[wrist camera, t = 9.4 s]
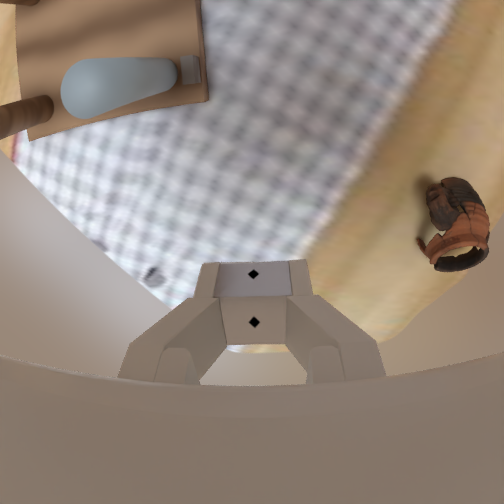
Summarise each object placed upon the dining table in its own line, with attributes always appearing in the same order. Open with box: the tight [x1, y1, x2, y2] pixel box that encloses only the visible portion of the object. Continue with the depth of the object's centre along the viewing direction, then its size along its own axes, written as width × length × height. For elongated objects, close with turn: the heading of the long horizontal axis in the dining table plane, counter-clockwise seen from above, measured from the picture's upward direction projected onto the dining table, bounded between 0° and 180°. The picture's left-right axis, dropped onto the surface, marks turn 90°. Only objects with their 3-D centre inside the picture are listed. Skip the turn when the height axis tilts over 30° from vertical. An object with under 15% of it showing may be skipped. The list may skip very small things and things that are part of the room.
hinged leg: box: [61, 57, 178, 119], centre depth 17 cm, size 3×3×12 cm
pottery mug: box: [417, 178, 490, 272], centre depth 30 cm, size 12×10×8 cm
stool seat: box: [0, 0, 209, 142], centre depth 15 cm, size 20×20×16 cm
